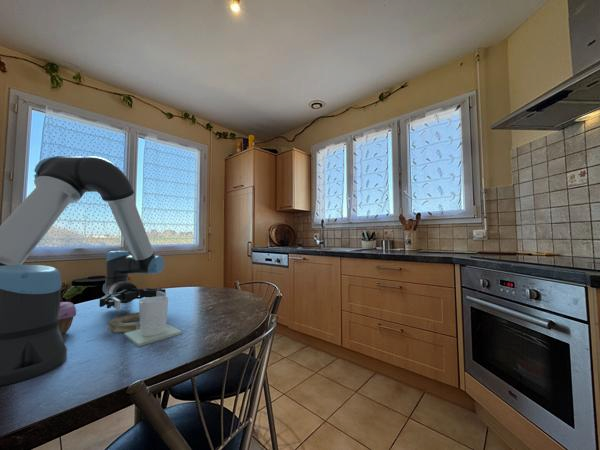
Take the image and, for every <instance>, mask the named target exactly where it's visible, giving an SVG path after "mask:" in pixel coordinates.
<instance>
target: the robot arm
mask: <svg viewBox="0 0 600 450" xmlns="http://www.w3.org/2000/svg"><path fill="white" fill-rule="evenodd" d="M33 171H34V172H35V174H34V176H33V177H34V180H33V183H34V186H35V188H34V189H32V192H30V193H29V194H28V196H27V197H26V198H25V199H24V200H23V201H22V202H21V203H20V204H19V205H18V206H17V207H16V209H14V211H13V212H12V213H10V214H9V216H7V218H6V219H5V220H4V221H3V222H2V223H1V224H0V386H5V385H11V384H13V383H14V384H15V383H18V382H21V381H25V380H28V379H32V378H35V377H37V376H39V375H40V376H41V375H42V374H45V373H47V372H49V371H52V370H53V369H55V368H58V367H59V366H61V365H62V364H64V363H65V362H66V360H67V358H68V348H67V345H66V343H65V340H64V338H63V336H62V335H63V334H62V335H61V333H60V330H59V312H60V302H61V296H62V295H61V294H62V281H61V279H62V277H61V271H60V270H59V269H58V268H55V267H53V266H49V265H41V264H24V262H25V261H26V260H27V259H28V258H29V256H30V255H31V253H32V252H33V250H35V248H36V247H37V245H38V244H39V243H40V242H41V241H42V240H43V238H44V237H45V235H46V234H47V233H48V231H49V230H50V229H51V228H52V227H53V225H54V224H55V223H56V221H57V220H58V218H59V217H60V216H61V215H62V214H63V212H64V211H65V209H66V208H67V207H68V205H69V204H72V203H73V204H74V203H77V202H79V201H80V199H82V197H83V196H84V195H85V193H91V192H94V193H96V192H97V193H98V194H99V196H100V197H101V199H102V201H104V202H105V203H107V204H108V206H109V209H110V210H111V213H112V215H113V218H114V220H115V222H116V224H117V226H118V228H119V232H120V233H121V236H122V237H123V239H124V242H125V244H126V246H127V248H128V250H112V251H108V252H107V253H106V261H105V263H106V264H105V278H104V279H105V282H104V283H103V286H102V292H103V293H104V294H105V295H104V296H102V297H101V298H99V307H100V308H103V307H106V309H111V308H114V309H115V310H118V311H119V310H121V304H128V303H131V302H132V301H134V300H136V299H137V300H139V299H140V300H142V299H144V298H150V297H167V295H166V294H167V293H166V288H165V289H164V288H162V287H161V288H149V287H145V288H137V286H136V285H135V284H134V283H132V282H129V275H130V274H131V275H133V274H135V275H137V274H138V275H139V274H140V275H142V274H144V275H145V274H146V275H155V274H160V273H161V272H162V271H163V269H164V267H165V259H164V257H162V256H161V255H158V254H157V255H155V252H154V249H153V248H152V245H151V241H150V240H149V236H148V233H147V231H146V228H145V227H144V224H143V222H142V219H141V216H140V214H139V211H138V208H137V207H138V206H137V205H136V203H135V201H134V198H133V197H134V195H135V191H134V188H133V186H132V184H131V181H130V180H129V179H128V177H127V176H126V174H125V173H124V172H123V171H122V170H121V169H120V168H119V167H118V166H117V165H116V164H114V163H113V162H111V161H109V160H108V159H106V158H104V157H99V156H94V155H90V156H68V155H67V156H66V155H65V156H64V155H57V156H50V157H46V158H43V159H41V160H40V161H39V162H38V163H37V164H36V166H35V168H34V170H33Z"/></svg>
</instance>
